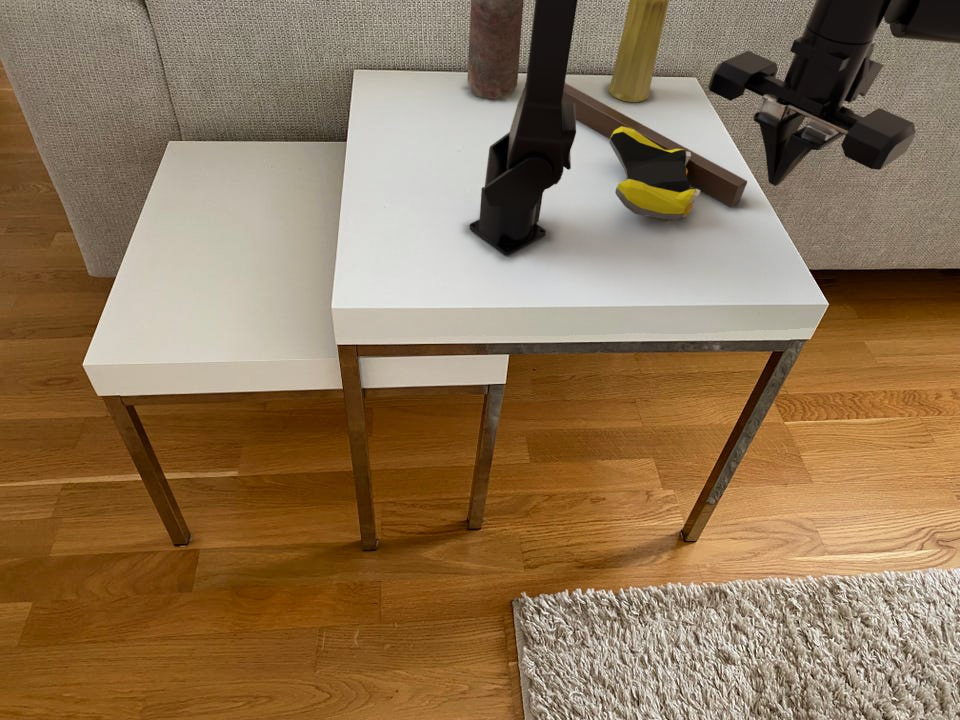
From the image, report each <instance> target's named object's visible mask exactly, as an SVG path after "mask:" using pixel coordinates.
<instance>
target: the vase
mask: <svg viewBox="0 0 960 720" xmlns="http://www.w3.org/2000/svg"><path fill="white" fill-rule="evenodd" d="M669 3H670V0H629V3H628V7H627V10H626V16H625V20H624V25H623V30H622V33H621V36H620V37H621V38H620V40H619V41H620V42H619V45H618V49H617V54H616V58H615V62H614V68H613V73H612V76H611V80H610V83H609V86H608V92H609V94H610V95H611V96H612V97H613V98H615V99H617V100H620V101H623V102H628V103H641V102H644V101H645V100H647V99H649V97H650V92H651V91H650V90H651V84H652V81H653V74H654V69H655V63H656V60H657V56H658V51H659V46H660V43H661V37H662V34H663V29H664V25H665V20H666V18H667V17H666V16H667V13H668V7H669Z"/></svg>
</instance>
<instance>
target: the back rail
mask: <svg viewBox="0 0 960 720" xmlns="http://www.w3.org/2000/svg"><path fill="white" fill-rule="evenodd" d="M562 103H575V112H576V121H578V122H579V123H581V124H583V125H585V126H586V127H588V128H590V129H592V130H594V131H595V132H597V133H599V134H600V135H602V136H604V137H606V138H607V139H609V140H610V138H611V135H612V134H613V132H614V131H615V130H616V129H618V128H619V127H621V126H623V127H627V128H631V129H634V130H635V131H637V132H638V133H640V134H641V135H643V136H644V137H645V138H647V139H648V140H650V141H651V142H653V143H654V144H656V145H658V146H659V147H661V148H662V149H664V150H673V149H684V150H686V151H687V152H690V153H691V157H690V159H689V160H688V162H687V164H686V166H685V167H686V168H687V170H688V173H687V179H688V183H689V185H691V186H692V187H693V188H695V189H698V190H700V191H701V192H703V193H705V194H706V195H708V196H710V197H712V198H713V199H715V200H717V201H719V202H721V203H722V204H724V205H726V206H728V207H730V208H732V207H733V206H735V205H737V204H738V203H740V201H741V199H742V197H743V195H744V192H745V189H746V186H747V184H748V180H747V179H745V178H743V177H741V176H739V175H737V174H735V173H734V172H731V171H730V170H728V169H726V168H724V167H723V166H721V165H718V164H717V163H714V161H711V160H709V159H707V158H706V157H704V156H702V155H700V154H698V153H696V152H694V151H693V150H690V149H689V148H687V147H685V146H683V145H682V144H679V143H678V142H675V140H672V139H670V138H668V137H667V136H665V135H663V134H661V133H659V132H657V131H656V130H653V129H652V128H650V127H649V126H646V125H644V124H643V123H640V122H638V121H636V120H635V119H633V118H631V117H629V116H628V115H626V114H623V113H622V112H620V111H618V110H616V109H614V108H612V107H611V106H609V105H607V104H606V103H603V102H602V101H600V100H598V99H596V98H594V97H592V96H590V95H589V94H586V93H585V92H583V91H581V90H579V89H577V88H575V87H573V86H572V85H569V84H568V83H566V82H565V84H564V91H563V97H562Z"/></svg>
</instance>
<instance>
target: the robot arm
mask: <svg viewBox="0 0 960 720" xmlns="http://www.w3.org/2000/svg"><path fill="white" fill-rule="evenodd" d="M577 5H578V0H535V1H534V9H533V15H532V16H533V18H532V26H531V36H530V44H529V53H528V60H527V61H528V62H527V69H526V70H527V71H526V77H525V79H526V80H525V83H524V87H523V90H522V93H521V95H520V98H519V100H518V103H517V106H516V108H515V111H514V116H513V118H512V123H511V125H510V130H509V131H508V133H506V134H505V135H504V136H502V137H501V138H499V139H498V140H496V141H495V142H494V143H493V144H491V145H490V146H489V148H488V156H487V163H486V171H485V172H486V173H485V180H484V186H483V187H481V190H480V208H479V219H477V220H475V221H473V222H471V223H469V228H468V229H469V230H470V231H471V232H473V233H474V234H475V235H476V236H478V237H479V238H480V239H482V240H483V241H484V242H486V243H487V244H489V245H490V246H491V247H492V248H494V249H495V250H497V251H498V252H499V253H500V254H502V255H504V256H510V255H513V254H515V253H516V252H518V251H520V250H522V249H523V248H525V247H527V246H530V245H531V244H533V243H535V242H537V241H539V240H540V239H542V238H544V237H546V236H547V230H546V229H545V228H544V227H542V226H541V225H539V224H538V223H539V221H540V215H541V209H542V203H543V202H542V201H543V196H544V192H545V190H548V189H550V188H552V187H553V186H554V185H558V183H559V182H560V181H561V179H562V176H563V174H564V169H566V170H571V169H572V162H571V150H572V147H573V145H574V142H575V138H576V135H577V120H576V112H575V103H562V97H563V91H564V84H565V83H566V79H567V78H566V76H567V71H568V64H569V60H570V59H569V57H570V51H571V44H572V38H573V33H574V25H575V21H576V20H575V19H576V12H577ZM883 20H884V22H885V23H886V24H888V25H889V30H890V33H891V35H892V37H894V38H897V39H905V40H906V39H907V40H915V41H929V42H938V43H949V44H958V45H959V44H960V0H815V1H814V4H813V6H812V9H811V12H810V14H809V17H808V19H807V22H806V24H805V27H804V29H803V32H802V35H801V36H800V37H798V38H796V39H794V40H793V42H792V44H791V46H790V50H789V52H790V53H793V58H792V60H791V63H790V65H789V67H788V70H787V73H786V75H785V78H784V80H781V79H779V78H777V77H776V76H777V74H778V71H779V68H778V64H777V62H775V61H773V60H771V59H768V58H766V57H764V56H761V55H759V54H757V53H754V52H752V51H750V50H746V51H744V52H742V53H740V54H737V55H735V56H732V57H731V58H728V59H726V60H723V61H721V62H720V63H718V64H717V66H715V68H714V69H713V71H712V73H711V76H710V80H709V83H708V86H707V88H708V90H709V92H712V93H714V94H715V95H718V96H720V97H722V98H724V99H726V100H728V101H729V102H730V101H731V102H732V101H734V100H735V99H737V98H740V97H742V96H744V94H745V91H746V90H747V91H750V92H752V93H754V94H757V95H759V96H760V97H762V98H761V99H762V104H761V106H760V109H759V111H757V112H755V113H754V115H753V119H752V120H753V121H754V122H755V123H757V124H758V125H759V129H760V132H761V136H762V137H761V138H762V141H763V145H764V151H765V160H766V171H767V180H768V184H770V185H772V186H774V187H777V186H778V185H780V184H781V183H782V182H783V181H784V180H785V179H786V178H787V177H788V176H789V175H790V173H791V172H792V171H794V169H795V168H796V167H797V166H798V165H799V164H800V163H801V162H802V161H803V160H804V159H805V157H807V156H808V154H809V153H811V151H821V150H822V149H823V148H826V147H827V146H829V145H830V144H832V143H834V142H835V141H837V140H838V139H840V138H842V137H843V136H844V135H845V136H844V138H843V140H842V142H841V144H840V146H841V148H842V151H843V154H844V157H846V158H848V159H849V160H852V161H854V162H856V163H858V164H860V165H862V166H864V167H867V168H869V169H871V170H879V171H880V170H882V169H884V168H885V167H886V166H889V164H891V163H892V162H894V161H895V160H897V159H898V158H900V157H901V156H902V155H904V154H905V153H907V151H908V149H909V148H910V146H911V144H912V143H913V141H914V139H915V138H916V128H915V127H916V126H915V123H914V122H912V121H910V120H908V119H906V118H903V117H901V116H899V115H897V114H894V113H892V112H890V111H887V110H885V109H882V108H880V107H878V108H876V109H875V110H873V111H872V112H870V113H868V114H867V115H865V116H861V115H860V114H858V113H855V111H854V110H852V109H851V108H848V107H846V106H844V103H845V102H847V103H849V104H851V103H852V102H854V101H856V100H857V99H858V96H859V95H860V96H861V97H863V98H864V97H866V95H867V94H868V92H869V91H870V89H871V87H872V85H873V84H874V82H875V80H876V79H877V77H878V75H879V74H880V73H881V71H882V69H883V67H884V64H883V63H880V62H878V61H875V60H873V59H871V57H872V54H873V52H874V48H875V46H876V44H875V43H873V40H874V38H875V36H876V34H877V32H878V30H879V28H880V26H881V23H882V21H883ZM806 118H807V119H806ZM805 119H806V122H805V123H806V124H805V126H804V127H802V128H800V127H801V125H802V124H803V122H804V121H805ZM799 128H800V129H799Z"/></svg>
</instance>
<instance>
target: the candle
mask: <svg viewBox="0 0 960 720" xmlns="http://www.w3.org/2000/svg"><path fill="white" fill-rule="evenodd" d="M524 2H525V1H524V0H470V15H469V18H470V19H469V37H468V57H467V58H468V59H467V85H468V87H469V90H470V92H471V93H472V95H474V96H476V97H479V98H488V99H489V98H490V99H496V98H498V97H500V96H504V95H508V94H511V93H512V92H514V91H515V90H516V88H517V86H518V80H519V67H520V53H521V43H522V42H521V41H522V28H523V27H522V26H523V13H524Z"/></svg>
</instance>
